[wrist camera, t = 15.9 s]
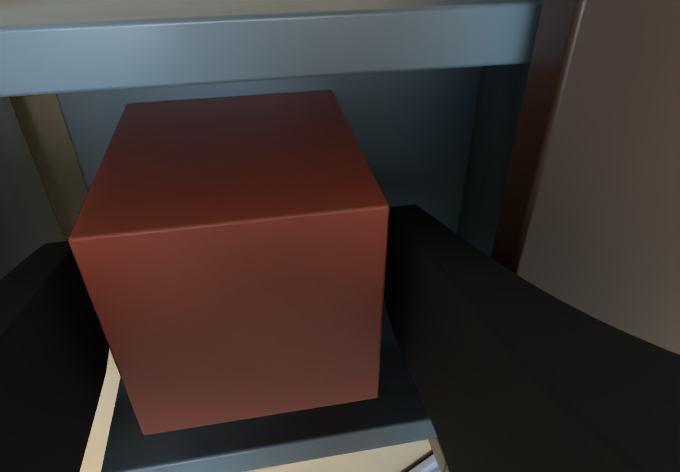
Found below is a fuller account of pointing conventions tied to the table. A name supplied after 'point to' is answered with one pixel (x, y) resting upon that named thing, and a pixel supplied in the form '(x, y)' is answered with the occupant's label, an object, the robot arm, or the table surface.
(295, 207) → the block
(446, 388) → the robot arm
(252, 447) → the drawer
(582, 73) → the cabinet
